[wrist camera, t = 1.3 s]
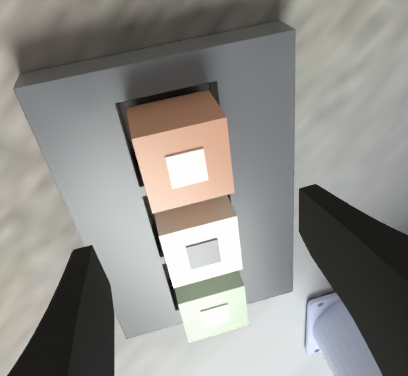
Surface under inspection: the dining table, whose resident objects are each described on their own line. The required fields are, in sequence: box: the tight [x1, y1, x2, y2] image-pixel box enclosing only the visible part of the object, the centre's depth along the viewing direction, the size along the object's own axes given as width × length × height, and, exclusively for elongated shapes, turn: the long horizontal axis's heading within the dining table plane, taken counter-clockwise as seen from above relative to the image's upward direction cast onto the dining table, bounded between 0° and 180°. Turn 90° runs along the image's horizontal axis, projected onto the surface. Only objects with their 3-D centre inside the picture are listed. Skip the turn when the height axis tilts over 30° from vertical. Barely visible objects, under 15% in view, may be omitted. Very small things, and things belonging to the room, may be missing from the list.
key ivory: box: [154, 195, 243, 288], centre depth 20 cm, size 4×4×3 cm
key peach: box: [126, 90, 235, 214], centre depth 17 cm, size 4×4×3 cm
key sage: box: [174, 271, 249, 343], centre depth 24 cm, size 4×4×3 cm
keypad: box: [13, 20, 295, 339], centre depth 22 cm, size 12×18×2 cm, turn 9°
